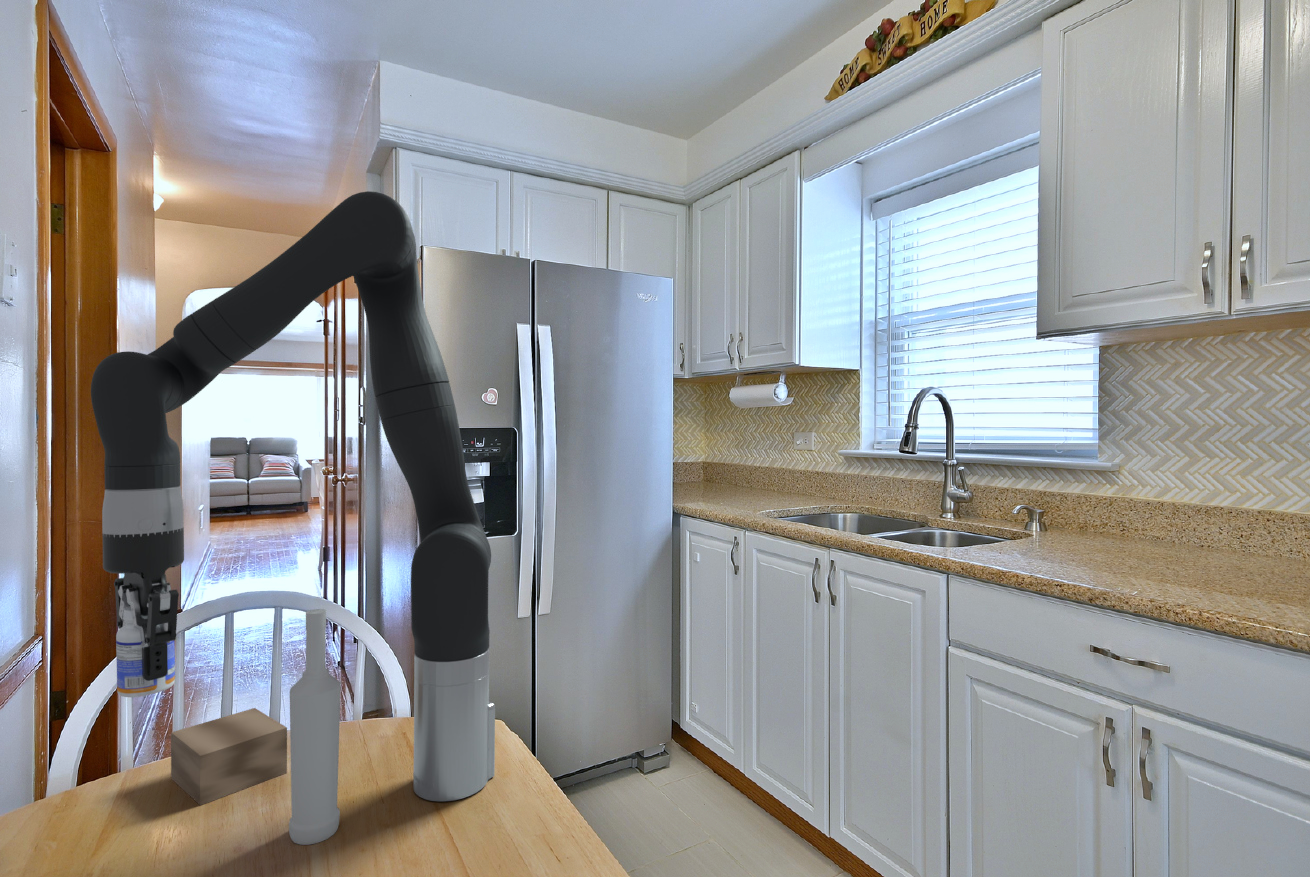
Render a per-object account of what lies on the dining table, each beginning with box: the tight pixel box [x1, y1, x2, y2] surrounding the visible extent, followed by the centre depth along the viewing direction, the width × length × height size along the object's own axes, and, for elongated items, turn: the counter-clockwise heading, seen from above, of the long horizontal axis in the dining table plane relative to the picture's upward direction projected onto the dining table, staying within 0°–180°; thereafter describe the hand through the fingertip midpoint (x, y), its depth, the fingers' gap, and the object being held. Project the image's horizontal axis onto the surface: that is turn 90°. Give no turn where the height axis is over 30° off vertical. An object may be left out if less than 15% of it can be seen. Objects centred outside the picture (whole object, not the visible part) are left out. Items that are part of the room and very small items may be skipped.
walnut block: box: [170, 707, 288, 806], centre depth 89 cm, size 10×10×6 cm
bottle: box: [288, 608, 341, 846], centre depth 76 cm, size 5×5×25 cm
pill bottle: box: [115, 606, 176, 698], centre depth 79 cm, size 5×5×10 cm
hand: (146, 671), depth 79 cm, fingers closed on pill bottle, 5 cm apart
